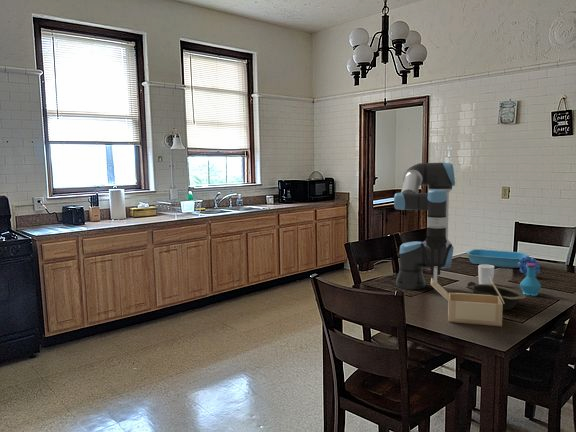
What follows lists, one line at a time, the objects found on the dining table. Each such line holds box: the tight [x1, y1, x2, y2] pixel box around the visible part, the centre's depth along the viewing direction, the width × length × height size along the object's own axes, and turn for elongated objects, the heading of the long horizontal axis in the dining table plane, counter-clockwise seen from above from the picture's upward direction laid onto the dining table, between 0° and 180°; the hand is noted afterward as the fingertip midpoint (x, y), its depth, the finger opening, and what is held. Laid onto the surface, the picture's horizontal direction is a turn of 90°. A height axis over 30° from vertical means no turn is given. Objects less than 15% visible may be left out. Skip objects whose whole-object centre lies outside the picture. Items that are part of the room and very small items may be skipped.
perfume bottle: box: [519, 263, 542, 297], centre depth 226 cm, size 9×9×15 cm
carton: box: [447, 292, 504, 327], centre depth 191 cm, size 20×13×9 cm, turn 72°
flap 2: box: [489, 277, 505, 304], centre depth 188 cm, size 9×11×1 cm
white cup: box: [477, 264, 495, 285], centre depth 244 cm, size 8×8×10 cm
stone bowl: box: [465, 281, 527, 311], centre depth 210 cm, size 25×25×9 cm
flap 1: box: [430, 277, 449, 301], centre depth 195 cm, size 9×11×1 cm
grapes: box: [517, 255, 541, 278], centre depth 258 cm, size 12×7×12 cm, turn 57°
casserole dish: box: [465, 248, 530, 269], centre depth 292 cm, size 37×22×7 cm, turn 56°
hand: (435, 282), depth 195 cm, fingers closed
